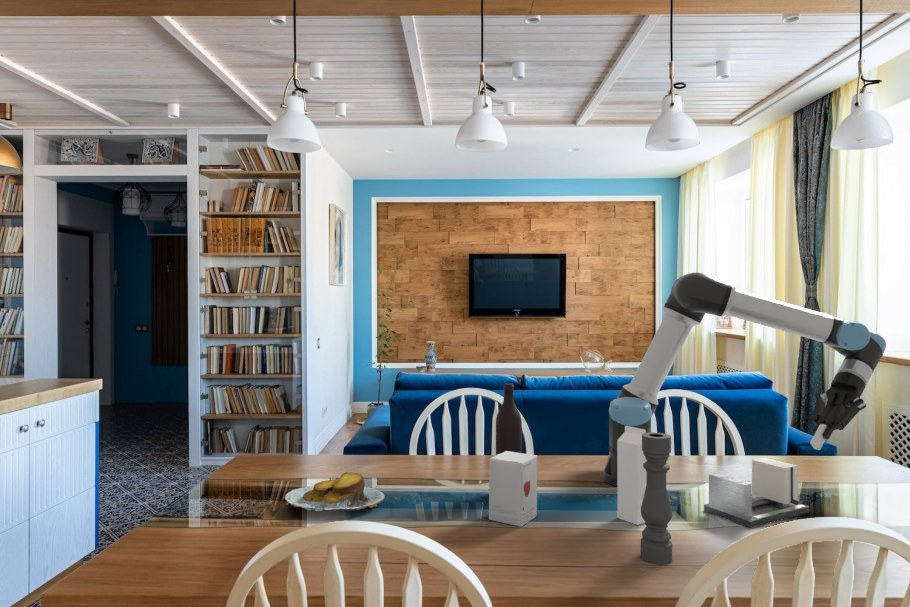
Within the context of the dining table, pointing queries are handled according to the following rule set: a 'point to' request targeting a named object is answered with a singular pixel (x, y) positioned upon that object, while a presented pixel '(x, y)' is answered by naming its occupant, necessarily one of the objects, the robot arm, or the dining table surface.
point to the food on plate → (336, 494)
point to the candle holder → (656, 500)
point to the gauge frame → (745, 503)
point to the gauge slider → (775, 480)
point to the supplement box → (513, 488)
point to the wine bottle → (508, 424)
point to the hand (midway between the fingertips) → (814, 446)
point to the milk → (630, 475)
